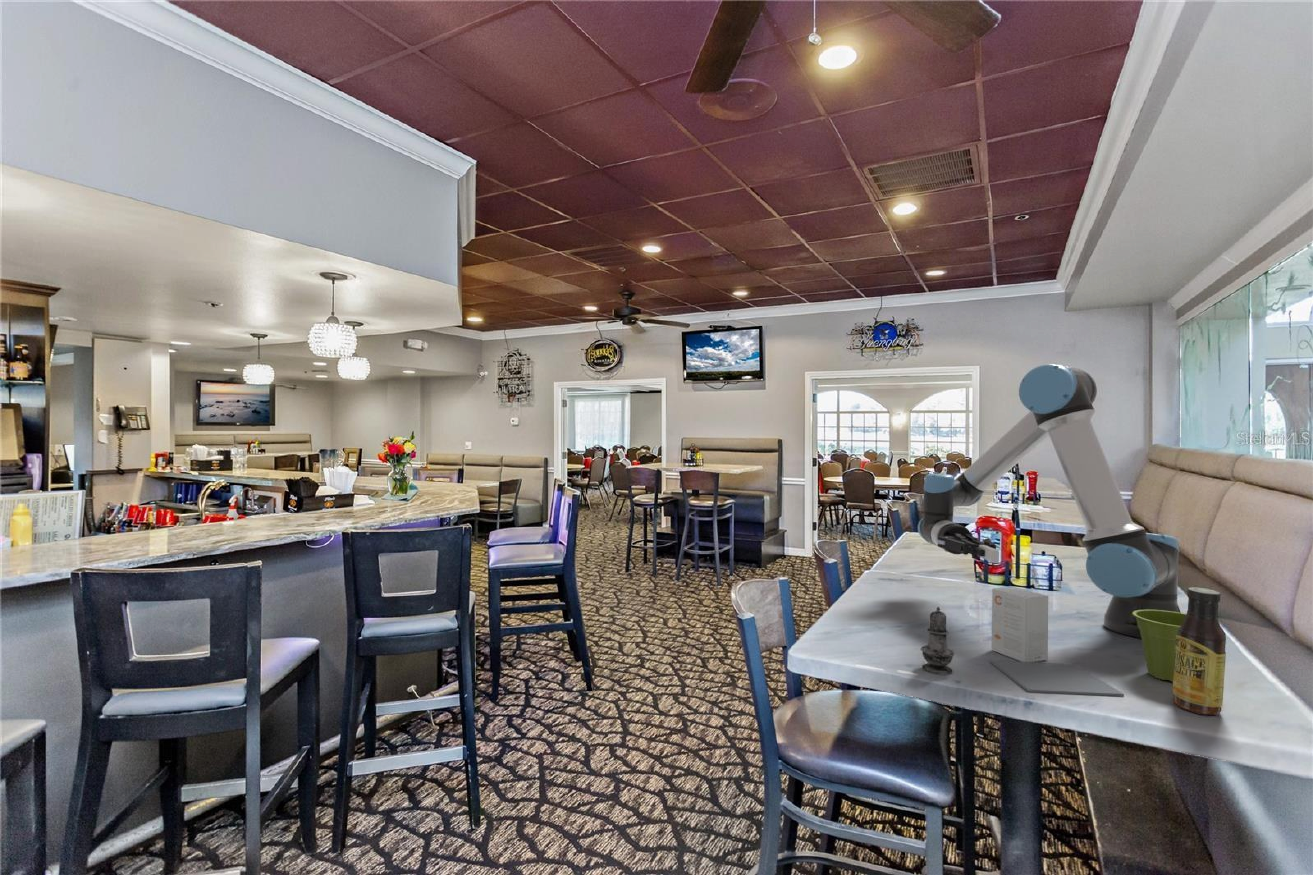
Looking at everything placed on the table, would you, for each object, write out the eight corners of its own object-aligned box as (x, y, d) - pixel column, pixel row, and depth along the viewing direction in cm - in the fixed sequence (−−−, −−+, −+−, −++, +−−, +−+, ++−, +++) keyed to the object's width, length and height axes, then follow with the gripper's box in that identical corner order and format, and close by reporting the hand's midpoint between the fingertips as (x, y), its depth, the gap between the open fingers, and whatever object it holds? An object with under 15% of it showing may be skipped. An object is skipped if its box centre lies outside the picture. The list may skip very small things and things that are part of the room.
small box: (1048, 660, 123) (1049, 595, 122) (1025, 664, 120) (1026, 598, 120) (1012, 647, 130) (1013, 585, 130) (990, 650, 128) (991, 588, 128)
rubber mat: (1074, 665, 120) (1074, 663, 120) (1124, 696, 106) (1124, 694, 106) (989, 662, 121) (990, 660, 121) (1027, 691, 107) (1027, 689, 107)
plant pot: (1158, 663, 122) (1159, 606, 122) (1229, 686, 111) (1231, 624, 111) (1116, 669, 118) (1117, 611, 118) (1186, 694, 107) (1187, 630, 107)
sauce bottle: (1162, 701, 104) (1164, 584, 104) (1196, 700, 105) (1198, 584, 104) (1199, 718, 98) (1202, 594, 97) (1235, 718, 98) (1238, 594, 98)
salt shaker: (958, 676, 113) (959, 612, 113) (924, 673, 114) (925, 609, 114) (949, 665, 119) (950, 603, 119) (917, 662, 120) (918, 601, 120)
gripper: (977, 552, 158) (1025, 574, 135) (925, 550, 159) (964, 572, 136) (978, 524, 158) (1026, 541, 134) (926, 522, 159) (965, 538, 135)
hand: (995, 556), depth 135 cm, fingers closed
